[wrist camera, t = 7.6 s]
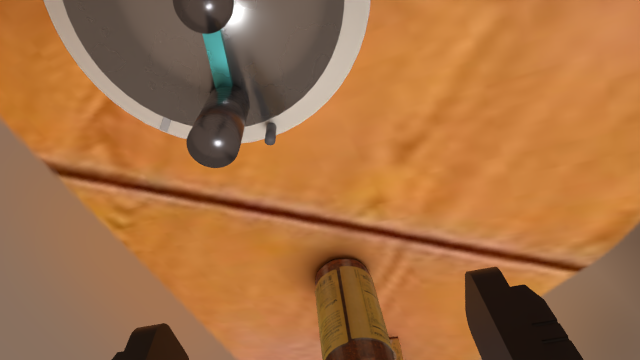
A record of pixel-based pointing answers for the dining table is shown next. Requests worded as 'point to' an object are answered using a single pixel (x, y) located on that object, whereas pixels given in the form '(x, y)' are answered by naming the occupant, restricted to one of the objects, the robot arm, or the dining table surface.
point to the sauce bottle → (350, 313)
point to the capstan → (210, 59)
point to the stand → (299, 112)
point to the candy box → (396, 349)
